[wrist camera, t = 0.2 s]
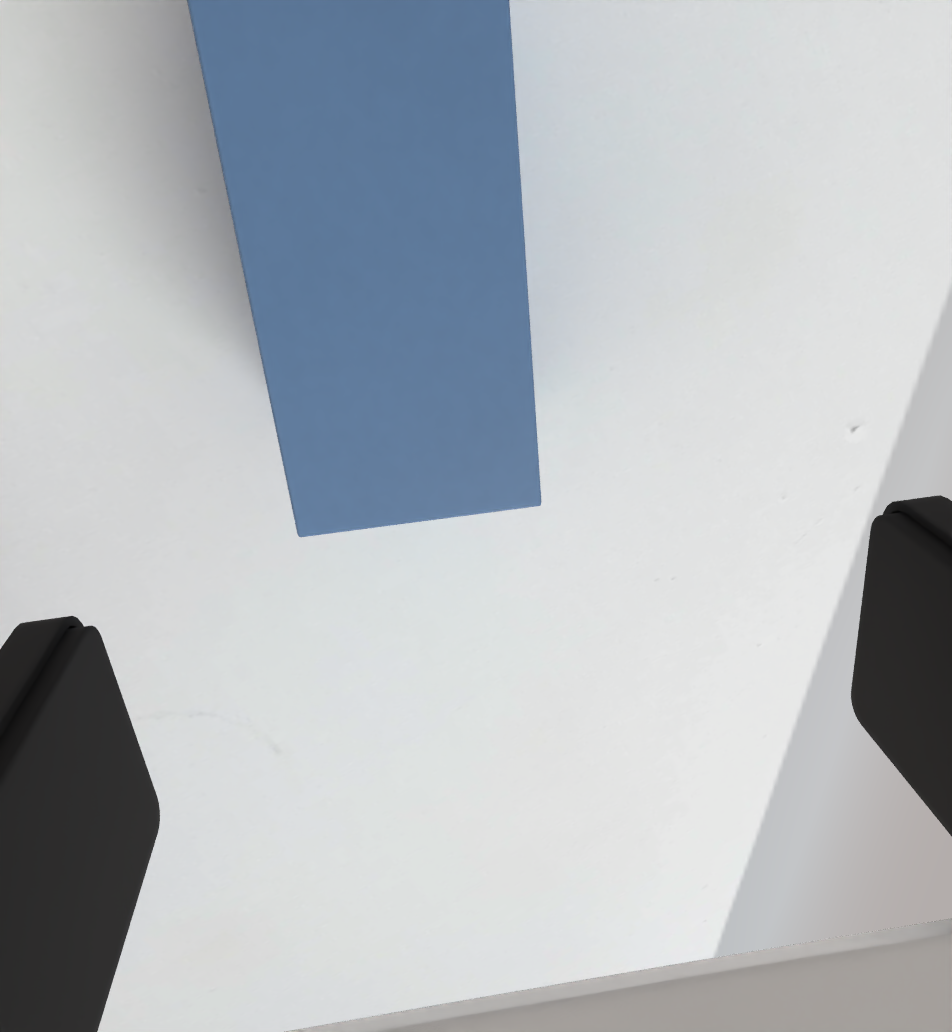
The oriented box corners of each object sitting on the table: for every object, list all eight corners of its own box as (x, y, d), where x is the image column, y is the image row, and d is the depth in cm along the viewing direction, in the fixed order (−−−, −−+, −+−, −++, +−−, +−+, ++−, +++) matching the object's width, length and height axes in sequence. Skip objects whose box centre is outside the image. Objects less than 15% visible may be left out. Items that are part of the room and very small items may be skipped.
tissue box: (215, -95, 21) (145, -191, 14) (459, -115, 21) (496, -219, 15) (315, 441, 27) (297, 539, 20) (503, 417, 27) (542, 507, 21)
